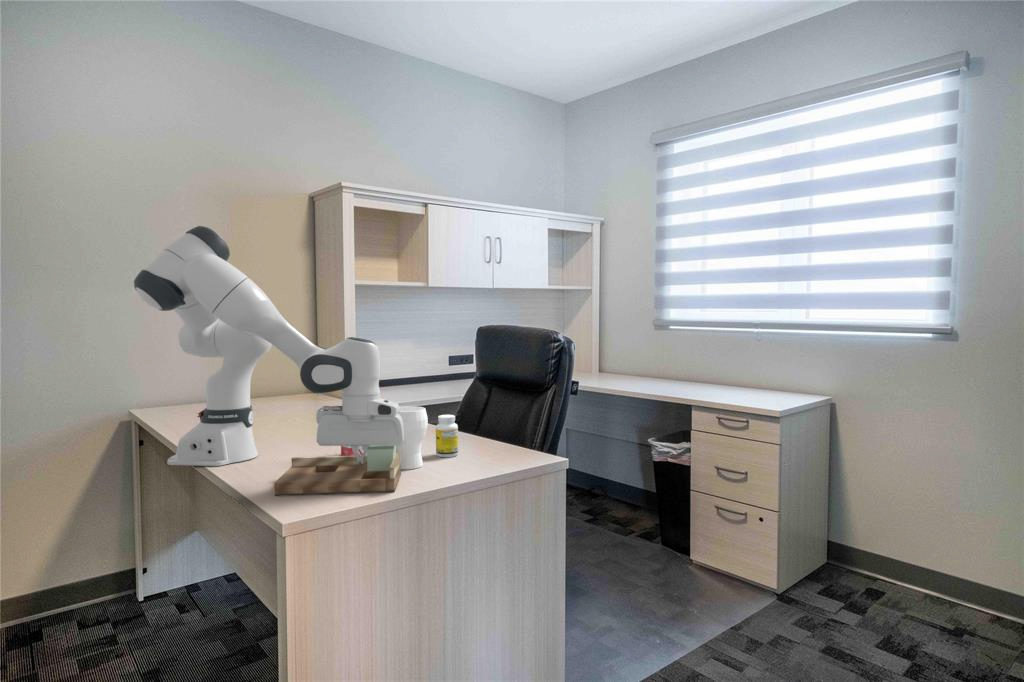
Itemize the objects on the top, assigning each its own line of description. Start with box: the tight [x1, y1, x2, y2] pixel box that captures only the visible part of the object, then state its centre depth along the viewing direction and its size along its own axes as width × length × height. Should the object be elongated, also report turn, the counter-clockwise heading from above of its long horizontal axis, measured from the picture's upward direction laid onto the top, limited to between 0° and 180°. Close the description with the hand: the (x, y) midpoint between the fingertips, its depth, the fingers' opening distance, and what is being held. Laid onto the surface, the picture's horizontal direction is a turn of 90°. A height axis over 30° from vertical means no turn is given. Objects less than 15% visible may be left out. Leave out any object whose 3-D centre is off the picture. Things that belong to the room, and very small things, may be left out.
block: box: [367, 446, 396, 471], centre depth 147 cm, size 6×6×5 cm
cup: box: [396, 405, 429, 470], centre depth 160 cm, size 11×11×15 cm
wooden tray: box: [273, 453, 402, 497], centre depth 143 cm, size 26×15×6 cm, turn 95°
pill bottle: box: [435, 414, 459, 458], centre depth 172 cm, size 6×6×11 cm
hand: (360, 463), depth 146 cm, fingers closed
